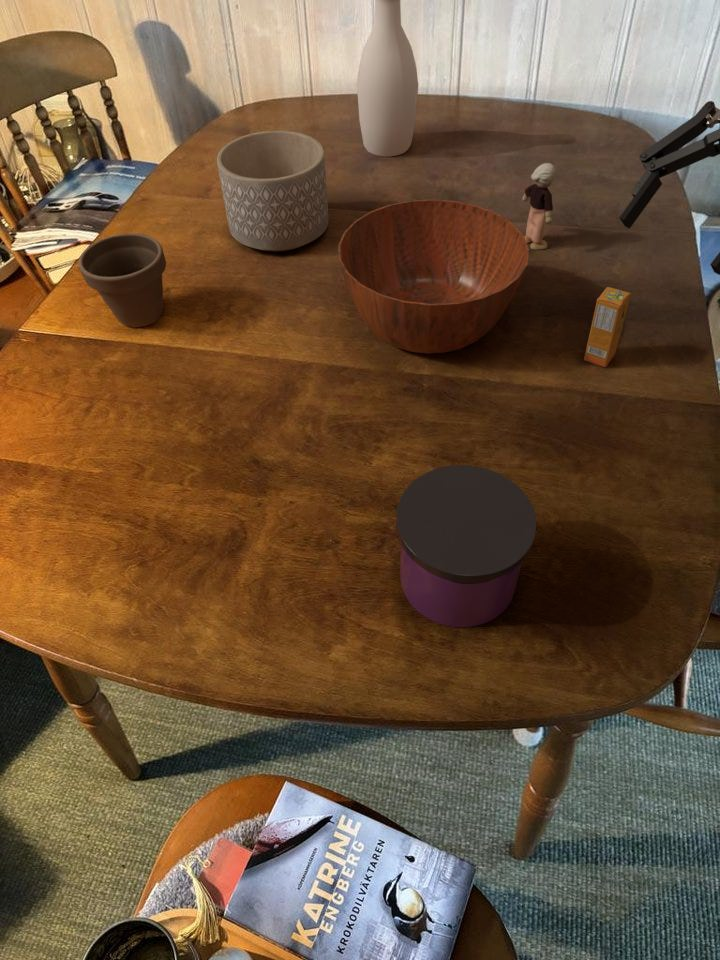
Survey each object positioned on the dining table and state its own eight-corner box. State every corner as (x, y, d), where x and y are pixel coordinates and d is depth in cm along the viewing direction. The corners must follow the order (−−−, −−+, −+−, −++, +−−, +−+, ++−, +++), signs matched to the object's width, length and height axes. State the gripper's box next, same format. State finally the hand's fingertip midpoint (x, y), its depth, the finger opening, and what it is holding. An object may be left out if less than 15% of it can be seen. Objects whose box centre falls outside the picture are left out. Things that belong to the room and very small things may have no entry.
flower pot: (83, 320, 105) (59, 259, 97) (142, 283, 111) (124, 223, 103) (136, 349, 100) (115, 288, 92) (194, 309, 106) (179, 248, 98)
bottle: (402, 164, 133) (405, 7, 114) (348, 153, 136) (342, -1, 117) (425, 139, 139) (431, -15, 120) (373, 129, 143) (371, -21, 123)
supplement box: (590, 346, 98) (608, 284, 90) (614, 355, 97) (634, 292, 89) (580, 360, 96) (597, 297, 89) (604, 369, 95) (624, 306, 87)
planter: (342, 244, 116) (338, 167, 106) (243, 266, 113) (230, 189, 103) (311, 197, 126) (305, 123, 116) (220, 216, 123) (206, 141, 113)
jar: (534, 547, 77) (550, 486, 69) (501, 650, 69) (516, 595, 61) (419, 512, 80) (423, 450, 73) (376, 606, 73) (375, 549, 65)
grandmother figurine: (558, 247, 114) (574, 169, 104) (540, 256, 112) (555, 177, 103) (525, 227, 118) (537, 150, 108) (507, 234, 117) (518, 157, 107)
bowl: (390, 399, 92) (390, 327, 84) (314, 296, 107) (308, 226, 98) (552, 343, 99) (568, 271, 90) (459, 253, 114) (466, 183, 105)
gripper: (894, 138, 80) (761, 301, 86) (703, 72, 93) (599, 217, 99) (895, 101, 74) (752, 280, 80) (690, 36, 87) (581, 193, 93)
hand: (667, 246), depth 90 cm, fingers open, 13 cm apart
